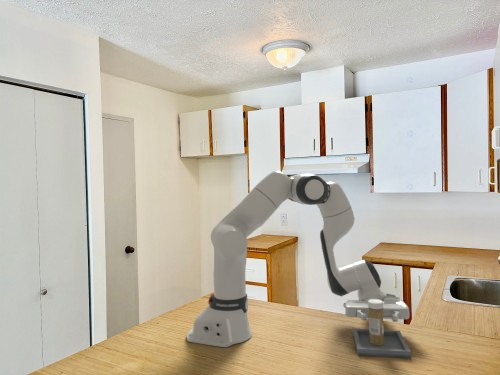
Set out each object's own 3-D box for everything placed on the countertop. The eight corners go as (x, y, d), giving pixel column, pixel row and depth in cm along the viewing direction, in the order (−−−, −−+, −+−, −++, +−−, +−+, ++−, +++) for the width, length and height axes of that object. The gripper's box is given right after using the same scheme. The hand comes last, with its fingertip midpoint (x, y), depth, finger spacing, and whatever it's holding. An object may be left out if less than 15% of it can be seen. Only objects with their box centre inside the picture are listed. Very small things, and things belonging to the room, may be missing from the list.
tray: (357, 355, 111) (357, 348, 111) (353, 334, 126) (353, 328, 126) (410, 358, 108) (410, 351, 108) (399, 336, 123) (399, 330, 123)
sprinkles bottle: (387, 343, 117) (386, 301, 116) (377, 347, 114) (376, 304, 114) (375, 338, 120) (374, 297, 120) (365, 342, 118) (364, 300, 118)
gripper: (342, 294, 131) (345, 307, 118) (403, 295, 128) (413, 309, 114) (343, 311, 132) (345, 327, 118) (403, 313, 128) (413, 330, 114)
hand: (379, 318), depth 116 cm, fingers open, 8 cm apart
